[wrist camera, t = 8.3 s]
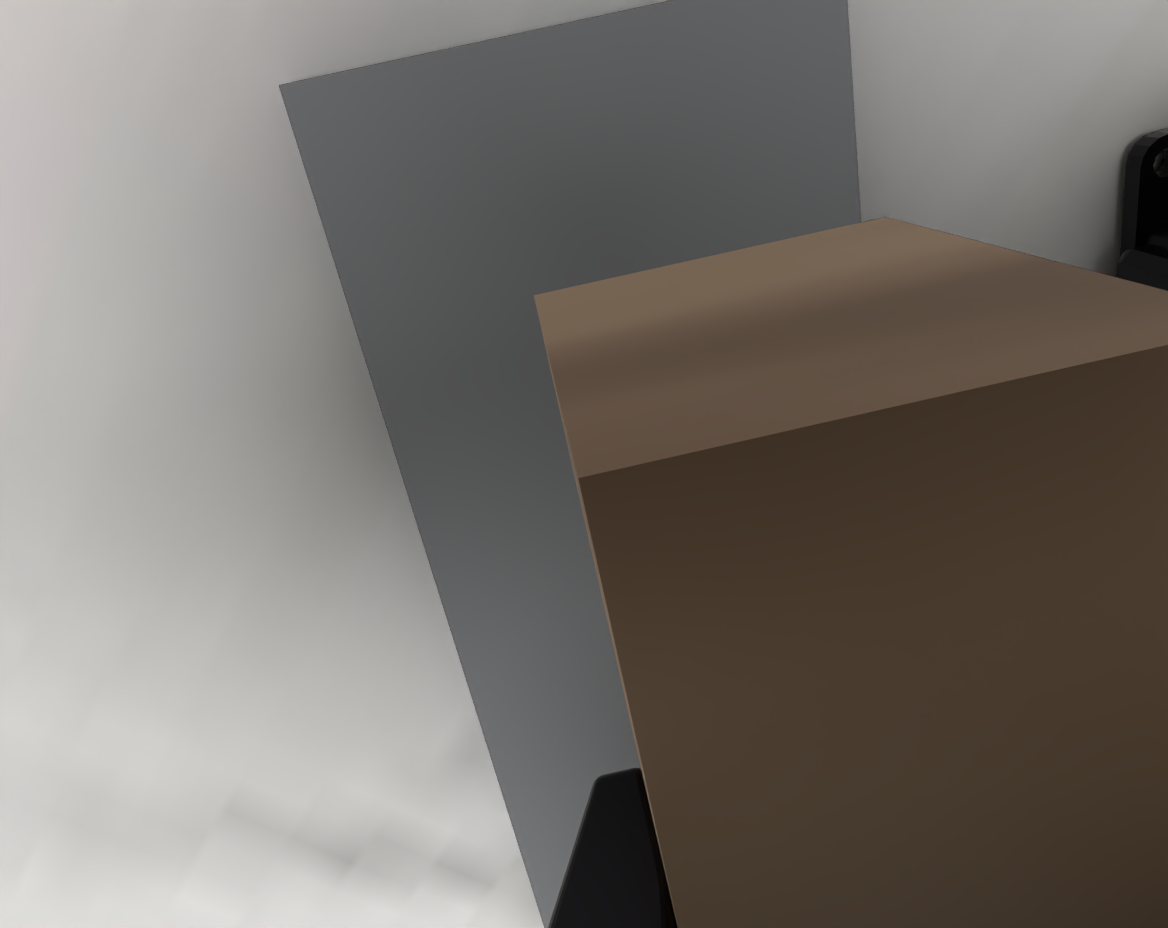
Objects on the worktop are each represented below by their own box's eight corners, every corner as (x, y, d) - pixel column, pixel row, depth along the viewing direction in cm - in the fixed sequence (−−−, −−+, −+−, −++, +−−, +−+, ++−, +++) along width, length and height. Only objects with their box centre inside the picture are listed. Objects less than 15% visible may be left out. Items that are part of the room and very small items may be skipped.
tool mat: (827, -32, 15) (845, -37, 14) (892, 912, 24) (904, 938, 24) (288, 84, 14) (278, 85, 14) (570, 989, 24) (572, 1018, 23)
